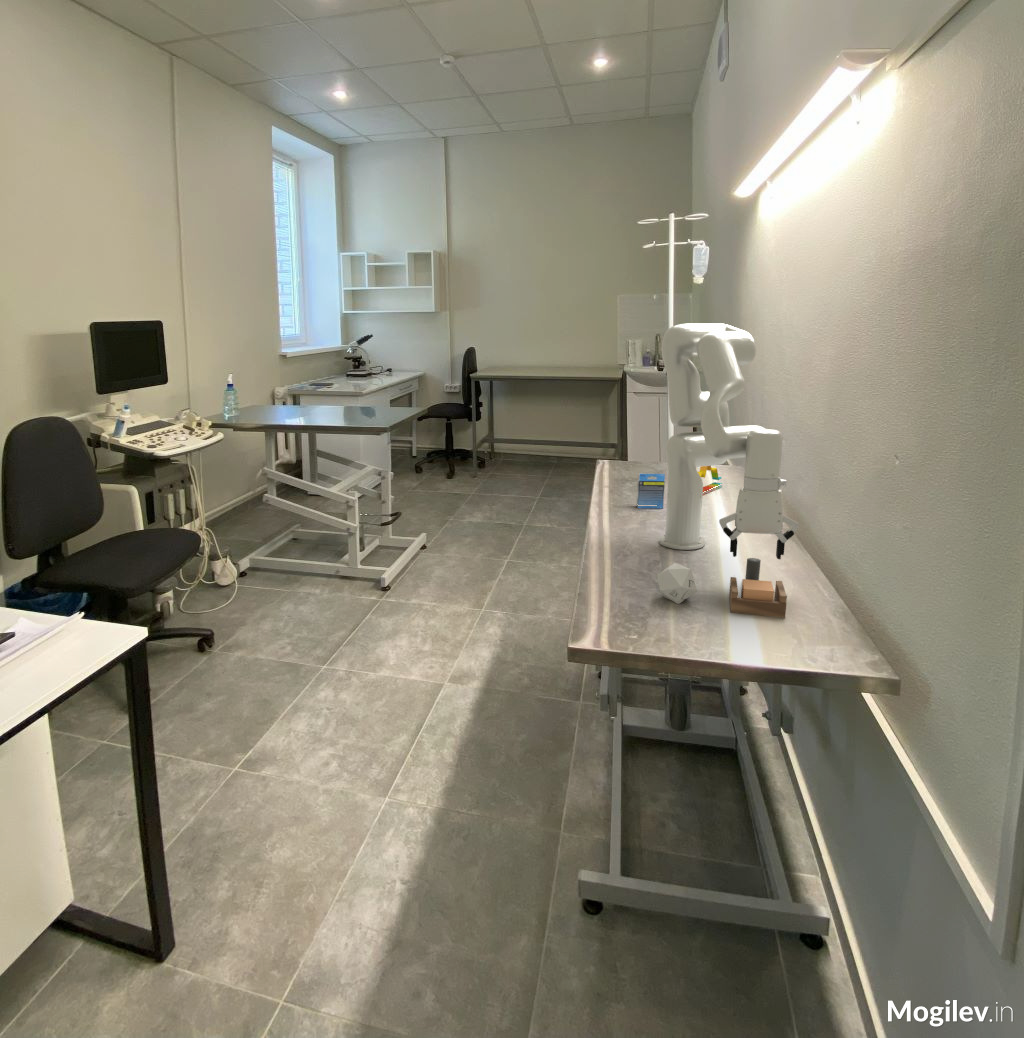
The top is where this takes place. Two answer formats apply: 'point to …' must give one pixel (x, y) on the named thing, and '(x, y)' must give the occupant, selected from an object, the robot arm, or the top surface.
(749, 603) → the shelf lane
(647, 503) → the label tape box
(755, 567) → the block
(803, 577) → the top surface
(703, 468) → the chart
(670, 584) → the die
